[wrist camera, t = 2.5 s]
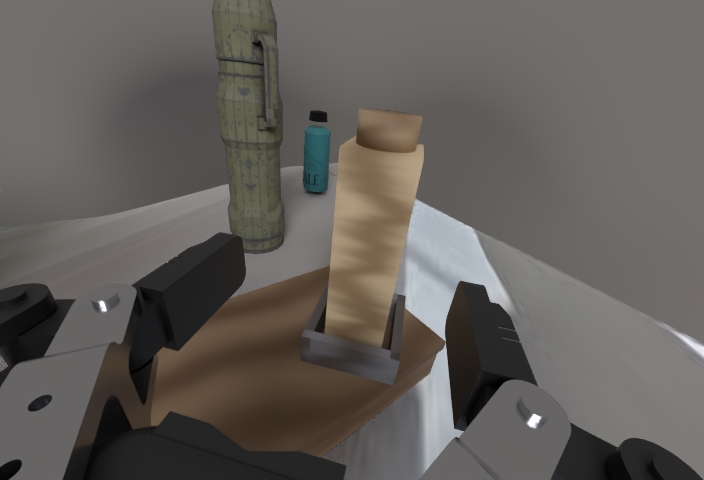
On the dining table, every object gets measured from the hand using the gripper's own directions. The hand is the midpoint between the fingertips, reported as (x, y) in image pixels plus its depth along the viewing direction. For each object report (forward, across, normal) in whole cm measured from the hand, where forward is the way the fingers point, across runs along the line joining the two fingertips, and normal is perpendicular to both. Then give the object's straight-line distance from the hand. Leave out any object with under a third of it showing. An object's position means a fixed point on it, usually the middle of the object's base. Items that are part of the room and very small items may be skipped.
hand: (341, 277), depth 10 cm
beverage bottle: (+60, +21, +19) cm, 67 cm away
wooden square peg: (+12, 0, +15) cm, 19 cm away
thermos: (+32, +22, +20) cm, 44 cm away
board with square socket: (+10, +6, +20) cm, 23 cm away
